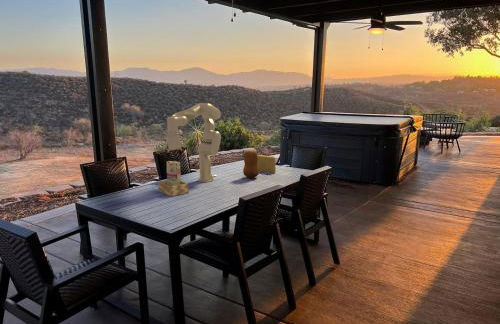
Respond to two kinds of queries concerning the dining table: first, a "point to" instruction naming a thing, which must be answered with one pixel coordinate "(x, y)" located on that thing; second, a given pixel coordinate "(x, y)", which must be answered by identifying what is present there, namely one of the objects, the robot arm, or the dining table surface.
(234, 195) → the dining table surface
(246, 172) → the butternut squash
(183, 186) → the wicker basket
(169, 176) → the candy bar box
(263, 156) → the cheese
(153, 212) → the dining table surface
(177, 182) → the small crate
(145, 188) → the dining table surface
